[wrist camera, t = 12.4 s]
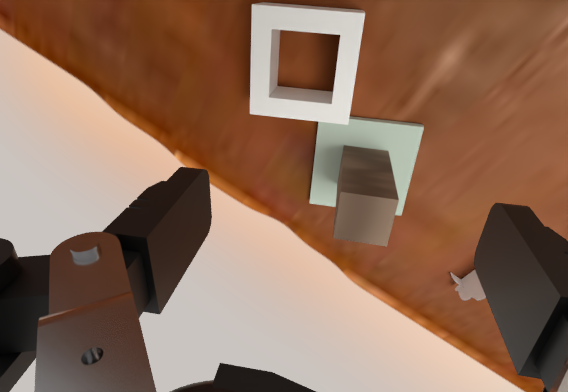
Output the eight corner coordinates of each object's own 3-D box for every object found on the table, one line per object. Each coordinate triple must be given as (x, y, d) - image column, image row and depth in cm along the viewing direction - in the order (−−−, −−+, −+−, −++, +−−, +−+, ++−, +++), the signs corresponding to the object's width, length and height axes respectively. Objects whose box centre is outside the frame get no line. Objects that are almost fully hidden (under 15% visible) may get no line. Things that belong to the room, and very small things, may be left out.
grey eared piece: (474, 298, 42) (487, 330, 38) (429, 267, 41) (437, 296, 37) (606, 209, 35) (638, 237, 31) (555, 167, 34) (581, 191, 30)
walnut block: (388, 150, 34) (398, 200, 26) (379, 189, 36) (386, 246, 28) (343, 145, 34) (341, 191, 26) (337, 183, 36) (333, 238, 28)
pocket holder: (363, 10, 29) (365, 13, 26) (348, 110, 33) (348, 124, 30) (263, 2, 30) (251, 4, 27) (260, 101, 34) (249, 113, 31)
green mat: (422, 124, 33) (423, 127, 32) (400, 211, 37) (401, 215, 37) (319, 112, 34) (319, 115, 33) (310, 199, 38) (309, 203, 38)
